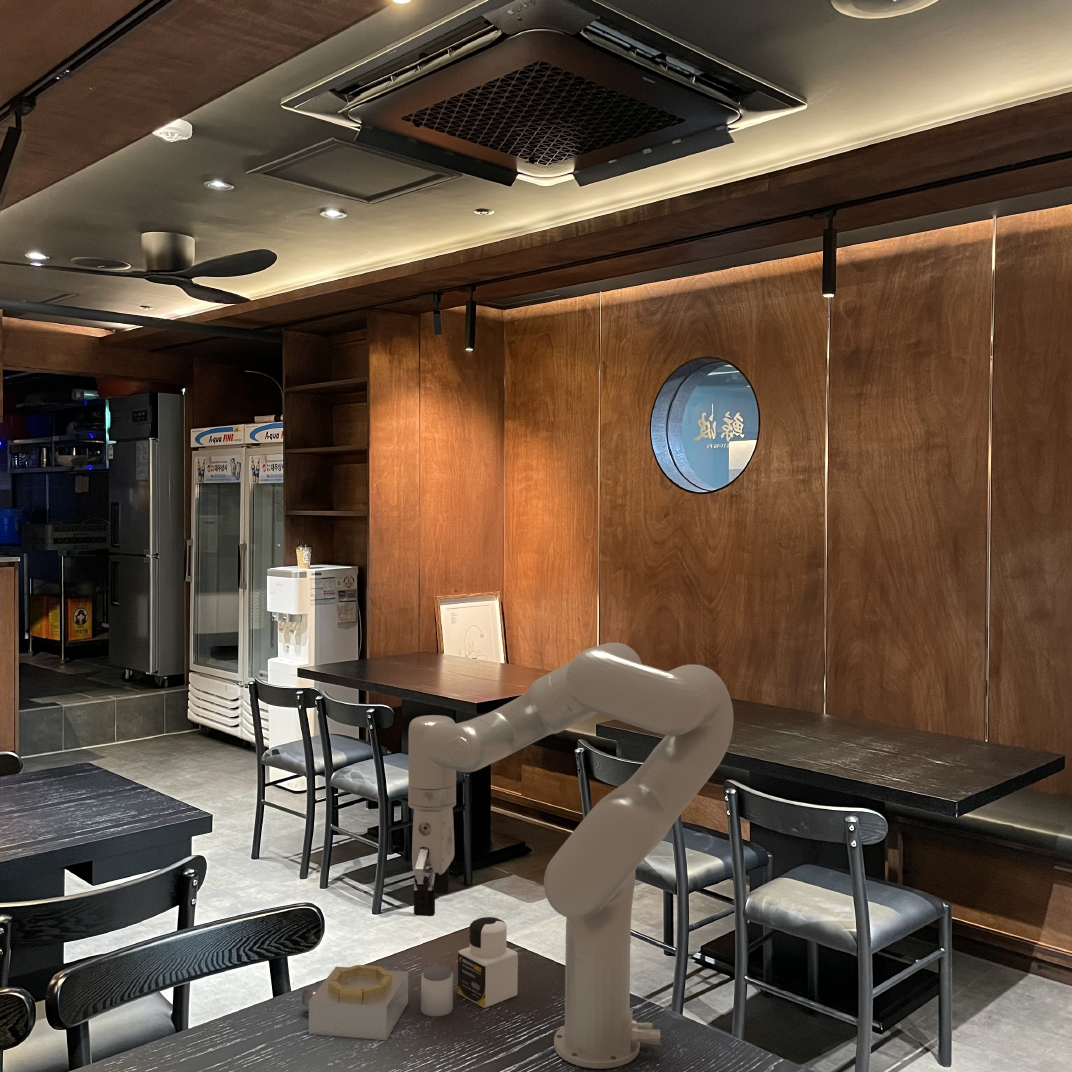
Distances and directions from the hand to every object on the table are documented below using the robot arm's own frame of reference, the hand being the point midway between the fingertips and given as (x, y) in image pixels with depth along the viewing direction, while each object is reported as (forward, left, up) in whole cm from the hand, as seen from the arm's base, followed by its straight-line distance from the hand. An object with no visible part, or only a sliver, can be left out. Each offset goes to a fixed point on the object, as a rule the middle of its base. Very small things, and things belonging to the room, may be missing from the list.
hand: (431, 903), depth 159 cm
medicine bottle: (-8, -7, -17) cm, 20 cm away
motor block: (+12, +4, -17) cm, 21 cm away
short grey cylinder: (-1, -1, -17) cm, 17 cm away
